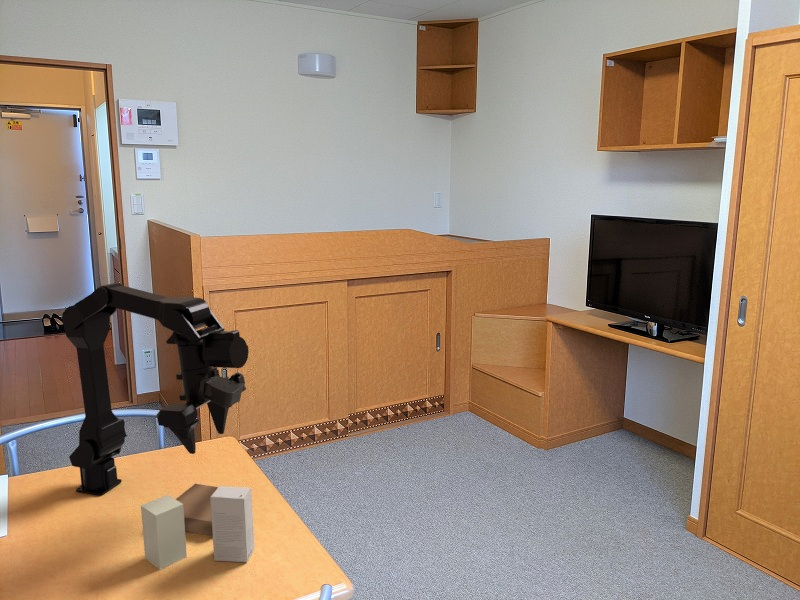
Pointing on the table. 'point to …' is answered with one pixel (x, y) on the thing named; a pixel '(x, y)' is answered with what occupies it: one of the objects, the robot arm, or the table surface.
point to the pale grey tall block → (163, 531)
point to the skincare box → (232, 524)
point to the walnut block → (198, 509)
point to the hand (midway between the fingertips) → (207, 443)
